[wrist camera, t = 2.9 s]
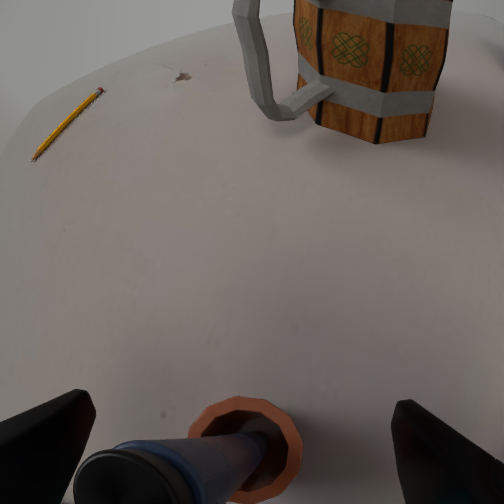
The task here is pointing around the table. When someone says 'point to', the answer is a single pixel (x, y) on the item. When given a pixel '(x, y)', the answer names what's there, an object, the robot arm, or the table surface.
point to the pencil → (66, 122)
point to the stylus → (170, 470)
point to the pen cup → (269, 424)
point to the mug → (354, 64)
